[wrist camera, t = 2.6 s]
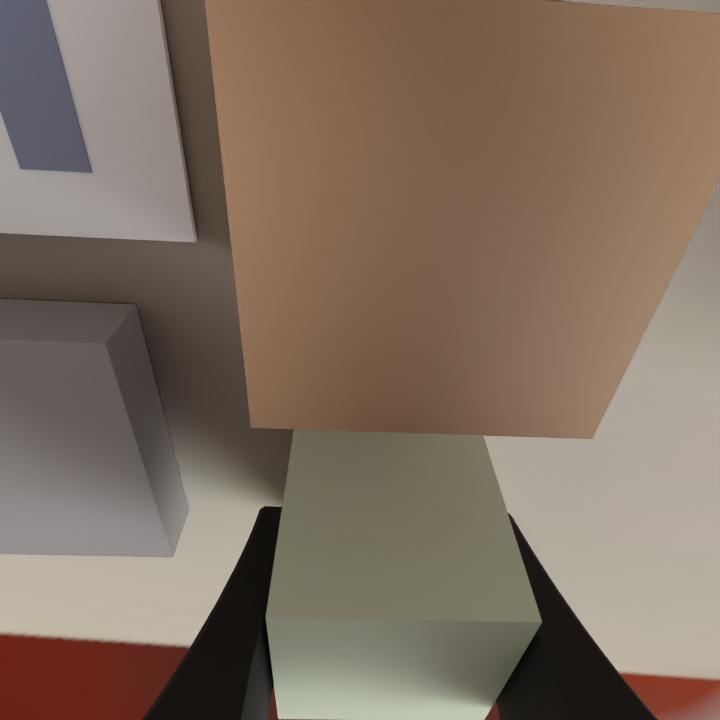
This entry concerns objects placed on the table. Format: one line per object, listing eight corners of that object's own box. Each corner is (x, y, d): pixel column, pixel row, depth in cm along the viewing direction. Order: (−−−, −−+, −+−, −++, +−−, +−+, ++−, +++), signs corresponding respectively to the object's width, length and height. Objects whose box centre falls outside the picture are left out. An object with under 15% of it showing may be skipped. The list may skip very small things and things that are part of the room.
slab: (136, 304, 10) (105, 343, 9) (188, 510, 14) (172, 557, 13) (-212, 289, 10) (-295, 328, 8) (-54, 504, 14) (-94, 551, 12)
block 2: (480, 428, 11) (542, 622, 8) (449, 537, 14) (483, 720, 10) (295, 422, 11) (265, 617, 7) (298, 533, 14) (278, 719, 10)
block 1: (571, 23, 7) (799, 17, 4) (503, 285, 10) (592, 438, 6) (280, 1, 7) (201, -27, 3) (289, 275, 10) (251, 427, 6)
